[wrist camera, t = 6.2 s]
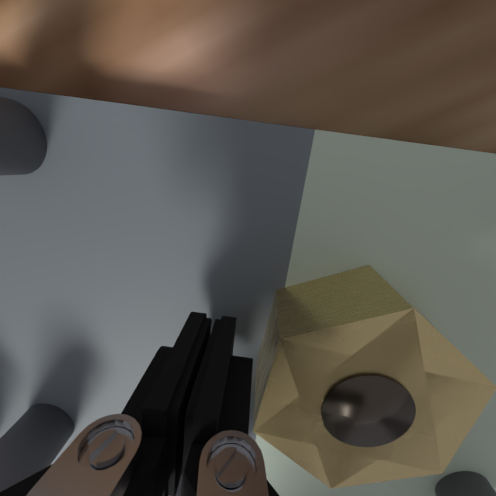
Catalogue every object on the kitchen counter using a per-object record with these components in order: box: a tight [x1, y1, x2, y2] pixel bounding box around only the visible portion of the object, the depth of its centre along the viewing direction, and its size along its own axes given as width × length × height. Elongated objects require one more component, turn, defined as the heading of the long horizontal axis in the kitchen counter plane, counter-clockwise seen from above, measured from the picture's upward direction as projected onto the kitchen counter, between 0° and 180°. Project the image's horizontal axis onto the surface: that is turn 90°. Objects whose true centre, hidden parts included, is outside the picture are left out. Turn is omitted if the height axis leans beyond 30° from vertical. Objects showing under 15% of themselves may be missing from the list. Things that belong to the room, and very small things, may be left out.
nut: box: [253, 265, 496, 489], centre depth 9 cm, size 6×7×3 cm
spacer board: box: [0, 87, 496, 496], centre depth 9 cm, size 34×18×6 cm, turn 83°
